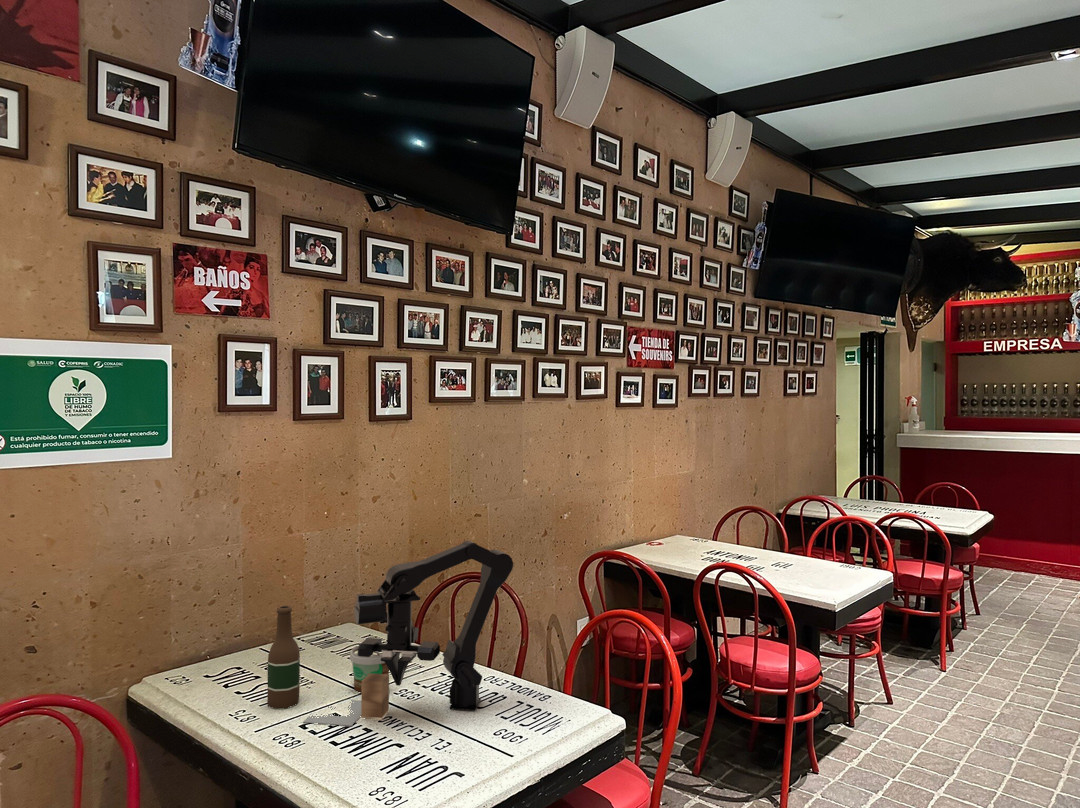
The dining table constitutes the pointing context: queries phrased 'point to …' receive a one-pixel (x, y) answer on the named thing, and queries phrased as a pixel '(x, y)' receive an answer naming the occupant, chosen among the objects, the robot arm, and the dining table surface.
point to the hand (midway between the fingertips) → (398, 685)
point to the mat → (339, 720)
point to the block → (375, 696)
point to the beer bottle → (283, 664)
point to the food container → (366, 666)
